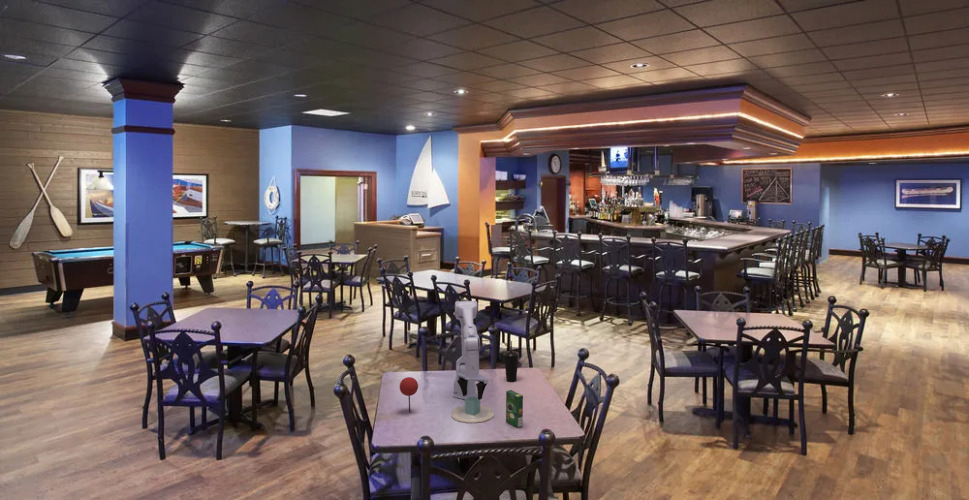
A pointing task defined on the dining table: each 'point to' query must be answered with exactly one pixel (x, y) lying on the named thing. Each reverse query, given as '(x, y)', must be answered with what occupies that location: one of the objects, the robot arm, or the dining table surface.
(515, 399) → the coffee box
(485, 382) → the robot arm
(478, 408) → the teal block
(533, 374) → the dining table surface
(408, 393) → the lollipop
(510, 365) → the drinking cup
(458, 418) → the serving plate
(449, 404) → the dining table surface
